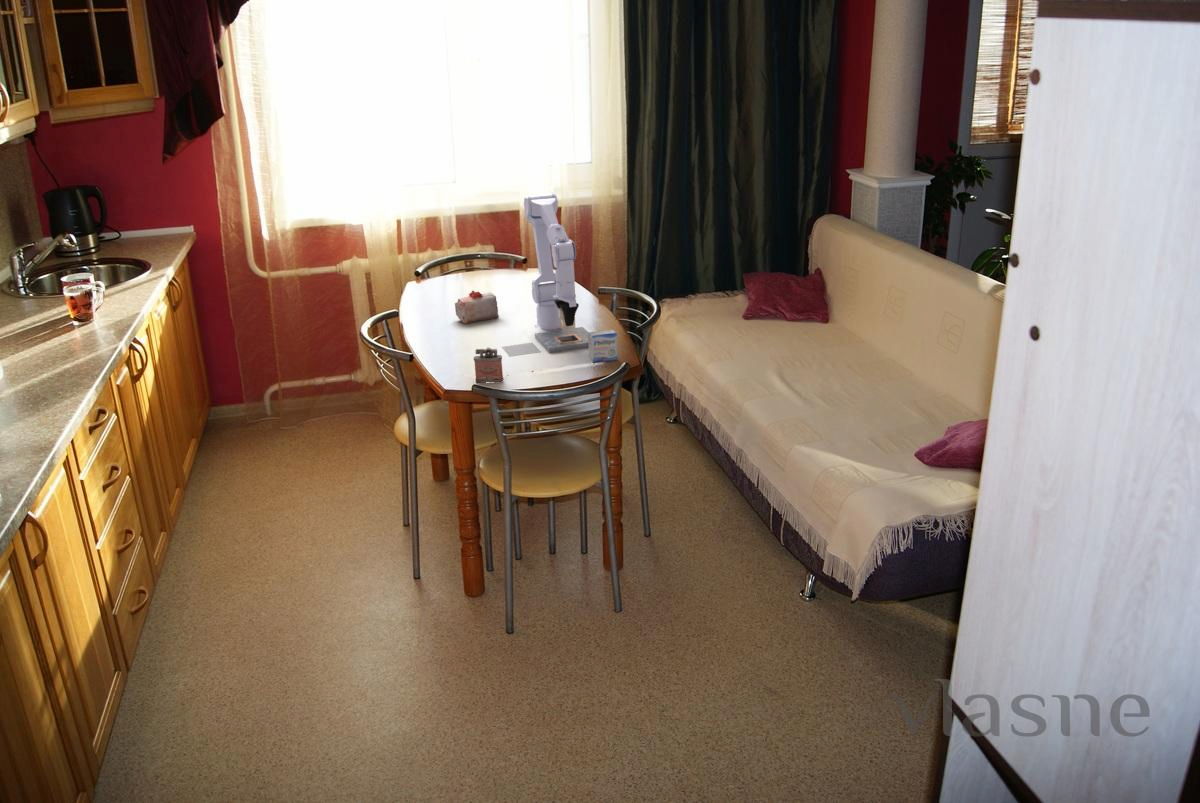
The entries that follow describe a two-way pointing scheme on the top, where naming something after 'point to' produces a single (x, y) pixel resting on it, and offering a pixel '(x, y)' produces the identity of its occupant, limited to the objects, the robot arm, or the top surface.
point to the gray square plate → (521, 349)
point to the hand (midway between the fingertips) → (567, 323)
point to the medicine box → (603, 345)
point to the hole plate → (563, 339)
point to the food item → (476, 307)
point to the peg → (562, 321)
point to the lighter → (488, 366)
